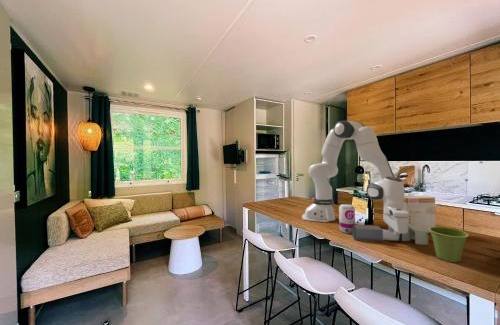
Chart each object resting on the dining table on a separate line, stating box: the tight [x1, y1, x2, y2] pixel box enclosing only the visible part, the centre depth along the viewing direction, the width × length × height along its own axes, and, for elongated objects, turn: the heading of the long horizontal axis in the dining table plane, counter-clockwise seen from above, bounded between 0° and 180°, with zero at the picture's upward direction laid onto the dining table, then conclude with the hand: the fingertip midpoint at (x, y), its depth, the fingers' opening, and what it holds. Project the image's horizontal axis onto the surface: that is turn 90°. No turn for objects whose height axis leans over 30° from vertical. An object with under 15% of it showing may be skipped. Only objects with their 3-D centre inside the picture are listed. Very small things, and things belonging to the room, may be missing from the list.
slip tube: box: [381, 228, 410, 243], centre depth 109 cm, size 21×6×5 cm, turn 76°
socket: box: [408, 226, 429, 246], centre depth 105 cm, size 5×8×6 cm, turn 166°
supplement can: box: [338, 203, 356, 234], centre depth 122 cm, size 8×8×15 cm
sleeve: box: [351, 224, 384, 243], centre depth 111 cm, size 13×7×6 cm, turn 76°
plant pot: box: [429, 226, 469, 263], centre depth 87 cm, size 12×12×11 cm
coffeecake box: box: [403, 194, 437, 234], centre depth 120 cm, size 15×7×20 cm, turn 84°
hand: (394, 236), depth 107 cm, fingers closed on slip tube, 4 cm apart
